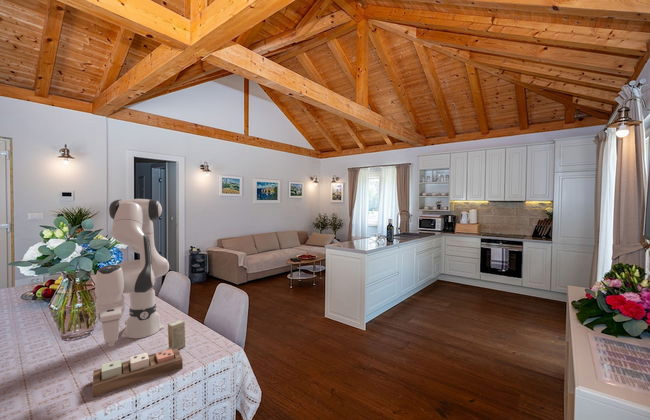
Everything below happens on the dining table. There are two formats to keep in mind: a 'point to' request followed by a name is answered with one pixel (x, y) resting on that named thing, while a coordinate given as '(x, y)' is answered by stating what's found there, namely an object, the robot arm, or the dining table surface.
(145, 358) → the tile
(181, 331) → the skincare box
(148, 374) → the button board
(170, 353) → the three-pip tile
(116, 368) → the tile
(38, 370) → the dining table surface
